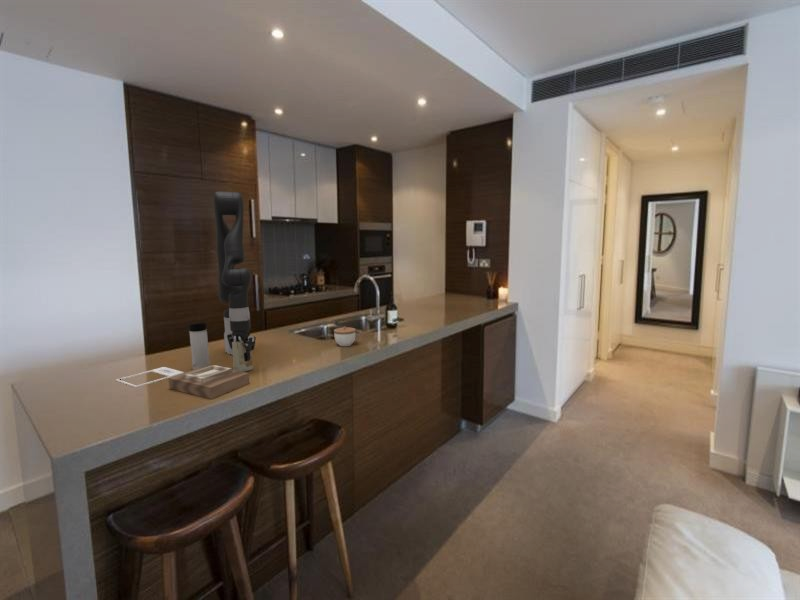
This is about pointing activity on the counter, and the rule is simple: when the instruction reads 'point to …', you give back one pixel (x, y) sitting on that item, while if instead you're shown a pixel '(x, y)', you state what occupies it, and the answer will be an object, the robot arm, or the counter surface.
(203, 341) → the travel mug
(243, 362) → the skincare box
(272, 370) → the counter surface
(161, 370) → the photo frame
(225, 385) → the display stand
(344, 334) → the lidded jar
